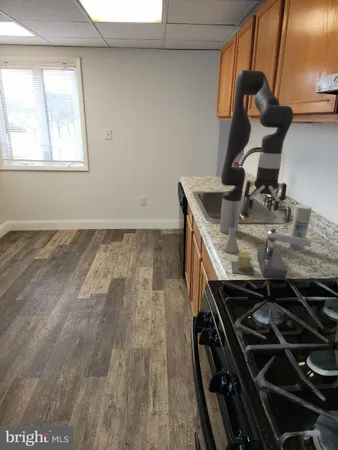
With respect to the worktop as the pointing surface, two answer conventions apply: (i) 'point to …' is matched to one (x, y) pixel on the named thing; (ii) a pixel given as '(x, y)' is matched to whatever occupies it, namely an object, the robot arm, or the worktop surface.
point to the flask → (231, 242)
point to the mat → (236, 271)
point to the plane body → (271, 262)
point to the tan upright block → (243, 261)
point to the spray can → (300, 224)
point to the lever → (288, 238)
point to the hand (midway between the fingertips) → (262, 209)
